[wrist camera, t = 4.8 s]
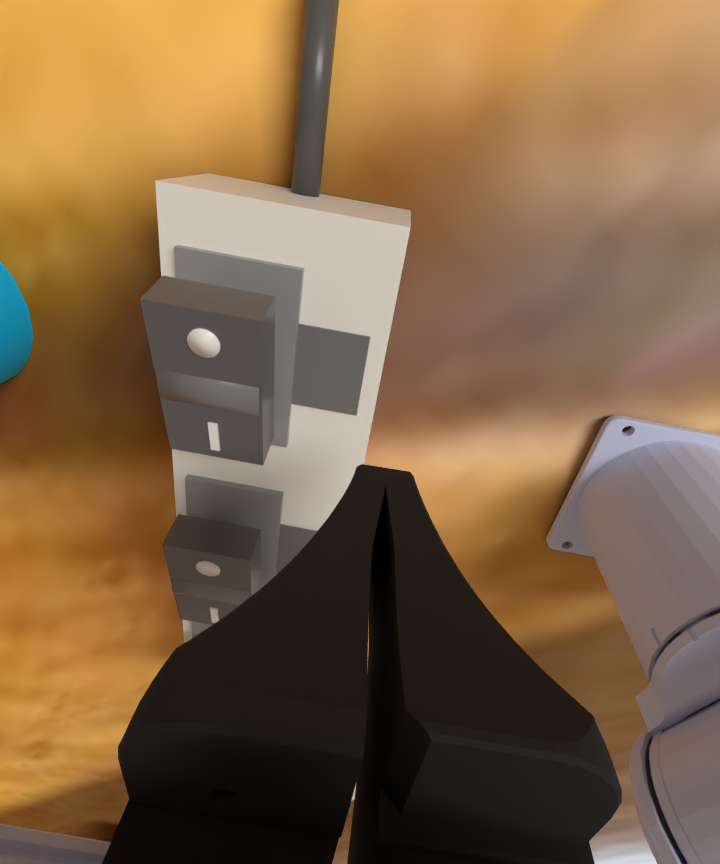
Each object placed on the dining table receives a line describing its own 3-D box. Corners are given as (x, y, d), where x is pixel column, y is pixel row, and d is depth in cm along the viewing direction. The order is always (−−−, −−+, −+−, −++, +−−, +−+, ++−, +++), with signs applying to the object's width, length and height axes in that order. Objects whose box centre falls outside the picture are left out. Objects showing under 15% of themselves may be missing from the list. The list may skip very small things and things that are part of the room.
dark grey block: (277, 292, 13) (259, 325, 12) (275, 433, 17) (261, 469, 16) (165, 272, 13) (135, 302, 12) (188, 417, 17) (168, 452, 16)
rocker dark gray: (262, 525, 18) (248, 565, 17) (262, 598, 22) (251, 636, 21) (180, 510, 18) (160, 549, 17) (194, 586, 22) (178, 623, 21)
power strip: (452, -2, 15) (467, -59, 11) (323, 657, 32) (311, 729, 28) (202, -48, 15) (123, -123, 11) (211, 636, 32) (183, 705, 28)
